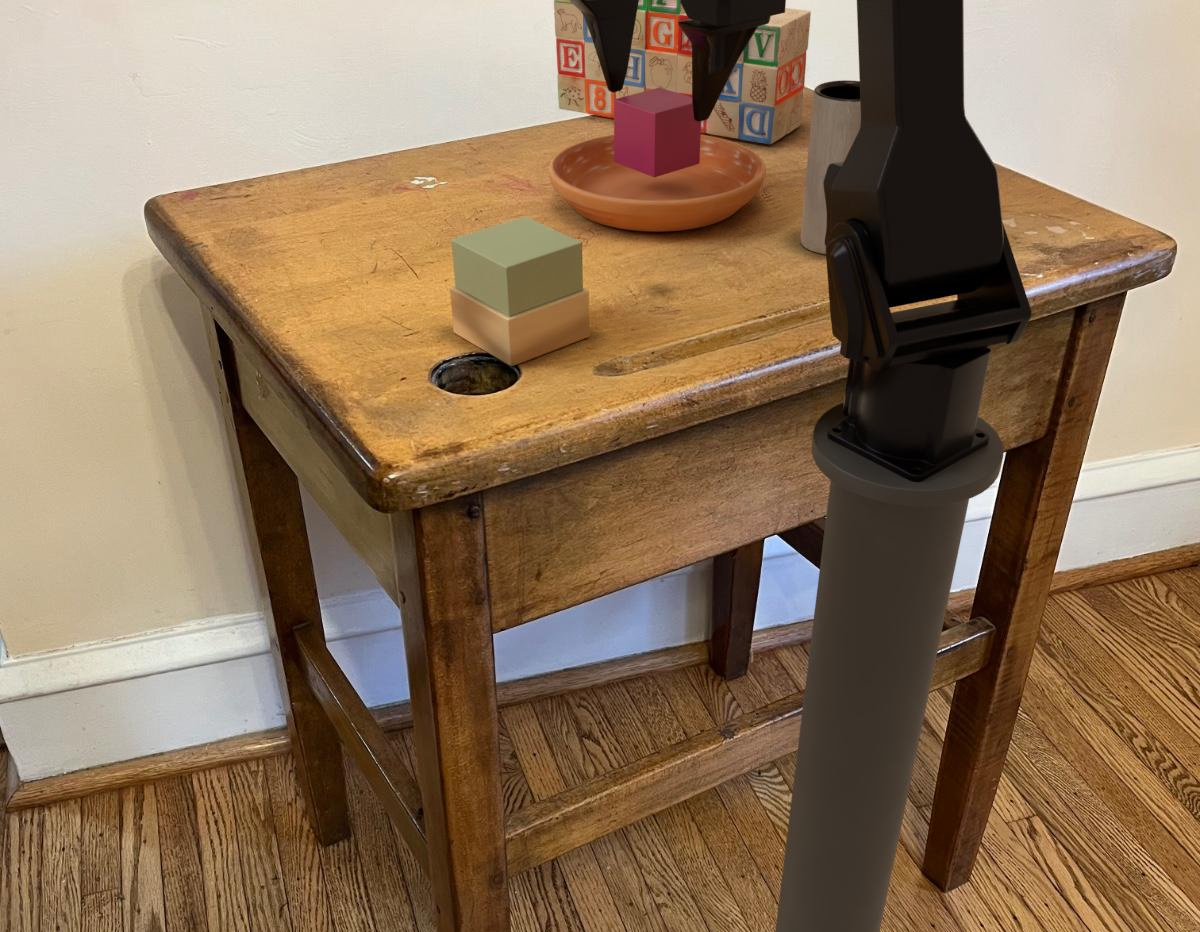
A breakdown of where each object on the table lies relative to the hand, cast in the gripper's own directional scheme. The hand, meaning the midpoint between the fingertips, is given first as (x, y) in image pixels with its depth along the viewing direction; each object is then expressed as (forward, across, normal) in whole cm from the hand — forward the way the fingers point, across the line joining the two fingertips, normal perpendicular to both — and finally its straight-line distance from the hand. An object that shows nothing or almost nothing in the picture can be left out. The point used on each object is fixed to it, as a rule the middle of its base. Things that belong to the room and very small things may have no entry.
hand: (657, 105), depth 89 cm
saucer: (+7, 0, 0) cm, 7 cm away
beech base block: (+7, +11, -21) cm, 25 cm away
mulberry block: (+4, 0, 0) cm, 4 cm away
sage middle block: (+4, +11, -21) cm, 24 cm away
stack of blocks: (+7, -14, +15) cm, 22 cm away
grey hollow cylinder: (+7, +14, +4) cm, 16 cm away
